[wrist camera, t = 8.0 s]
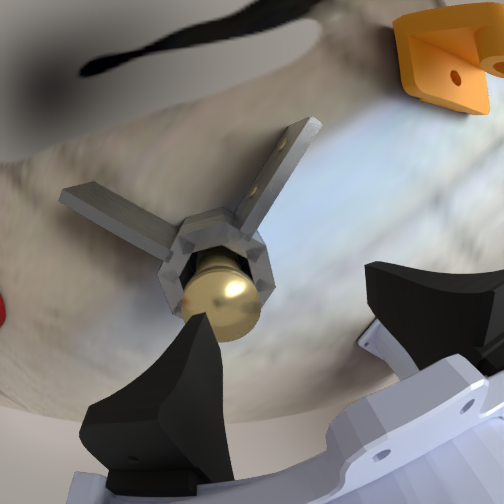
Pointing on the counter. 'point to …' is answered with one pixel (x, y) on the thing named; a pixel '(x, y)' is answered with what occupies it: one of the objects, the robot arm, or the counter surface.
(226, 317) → the hinge pin
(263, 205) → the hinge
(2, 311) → the beverage can
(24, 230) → the counter surface
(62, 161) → the counter surface
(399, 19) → the bracket
